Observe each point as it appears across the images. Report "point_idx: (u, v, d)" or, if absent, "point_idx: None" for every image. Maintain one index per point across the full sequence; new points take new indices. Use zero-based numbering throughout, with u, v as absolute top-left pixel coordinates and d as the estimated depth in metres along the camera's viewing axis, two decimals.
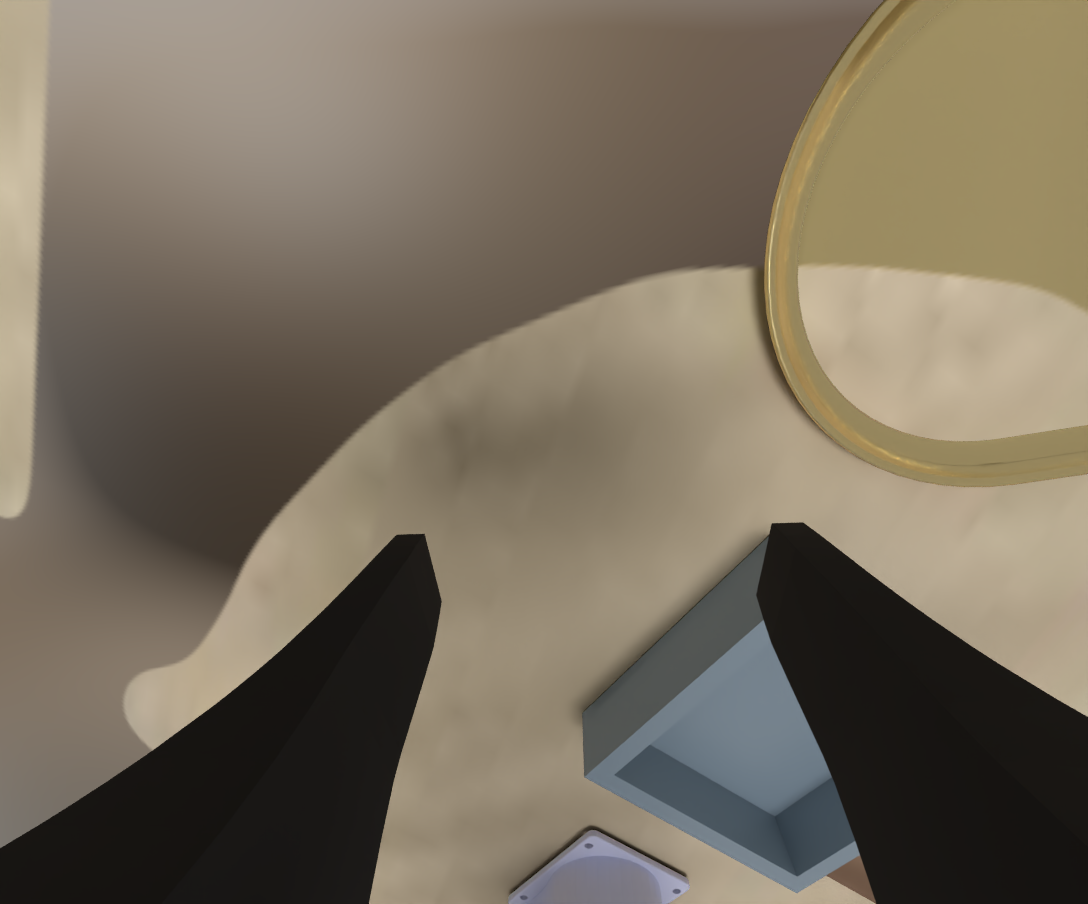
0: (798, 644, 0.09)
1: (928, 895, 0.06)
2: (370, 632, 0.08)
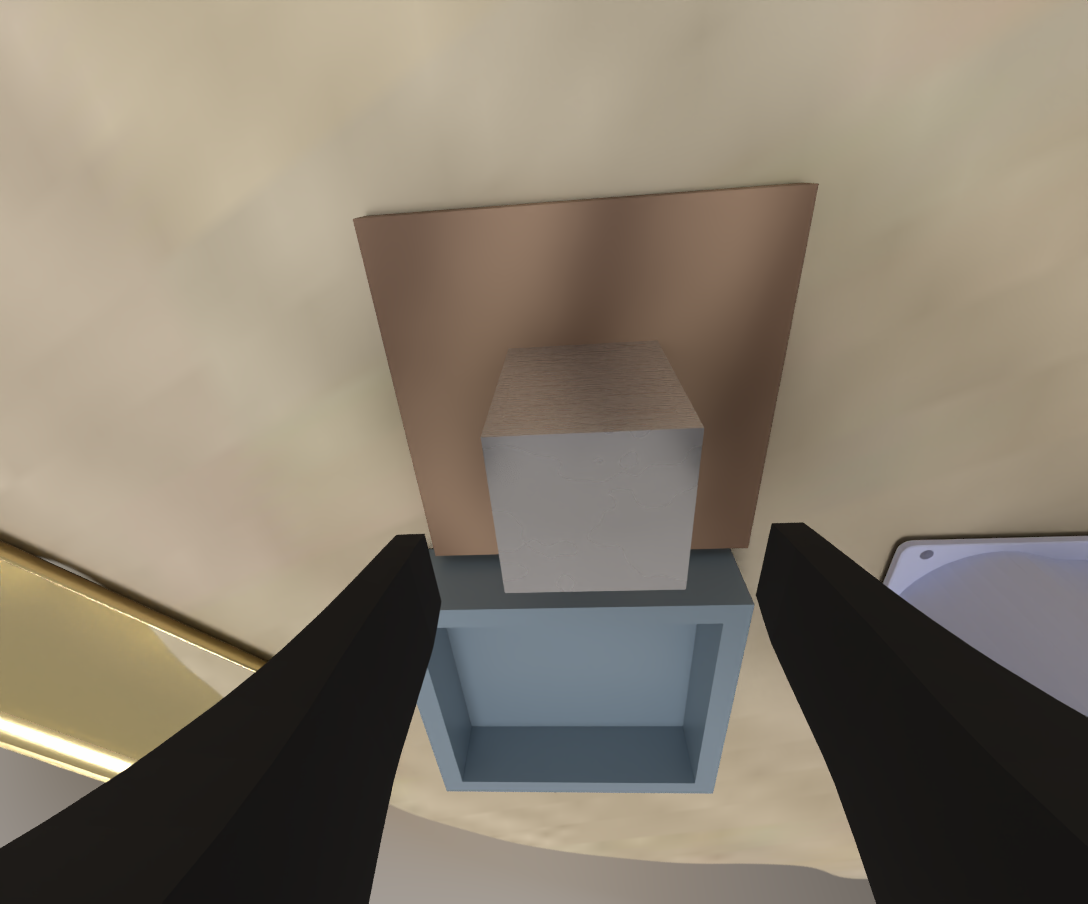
0: (798, 644, 0.09)
1: (928, 895, 0.06)
2: (370, 632, 0.08)
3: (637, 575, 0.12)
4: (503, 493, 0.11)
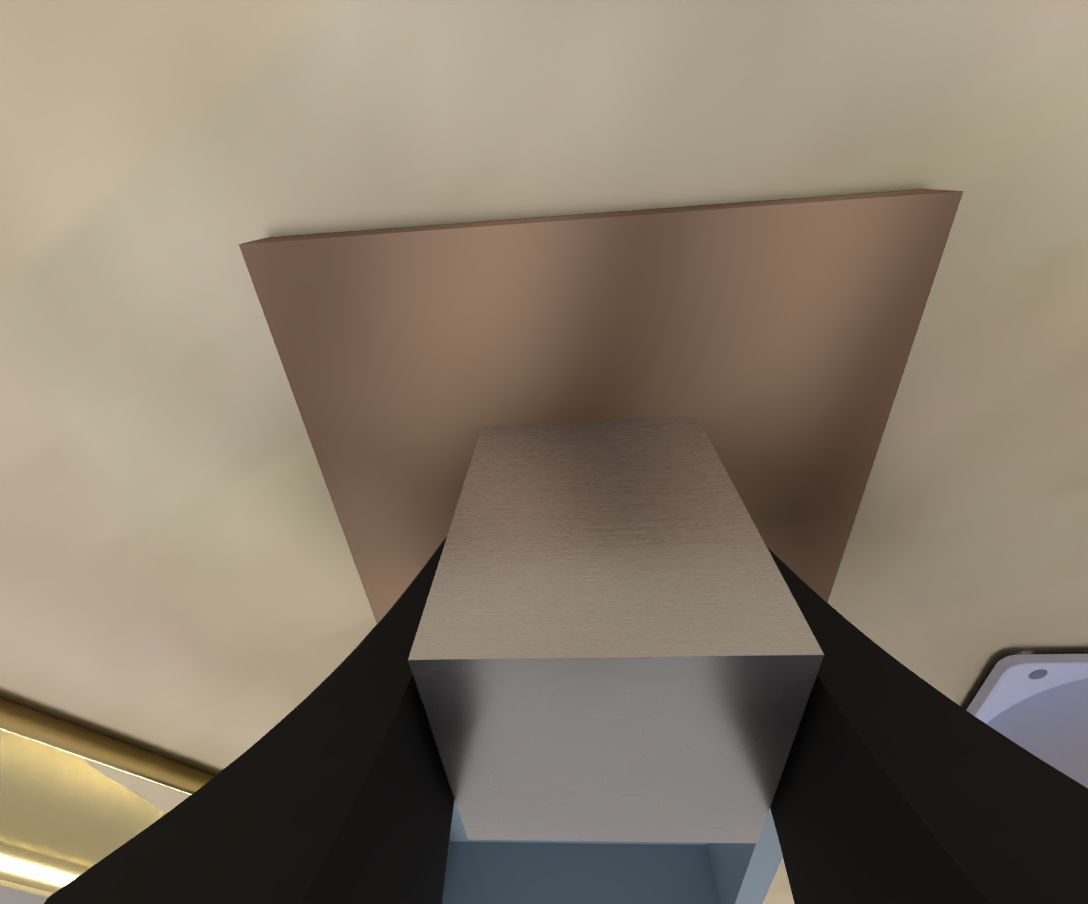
0: None
1: (830, 893, 0.06)
2: None
3: (679, 826, 0.08)
4: (456, 732, 0.06)
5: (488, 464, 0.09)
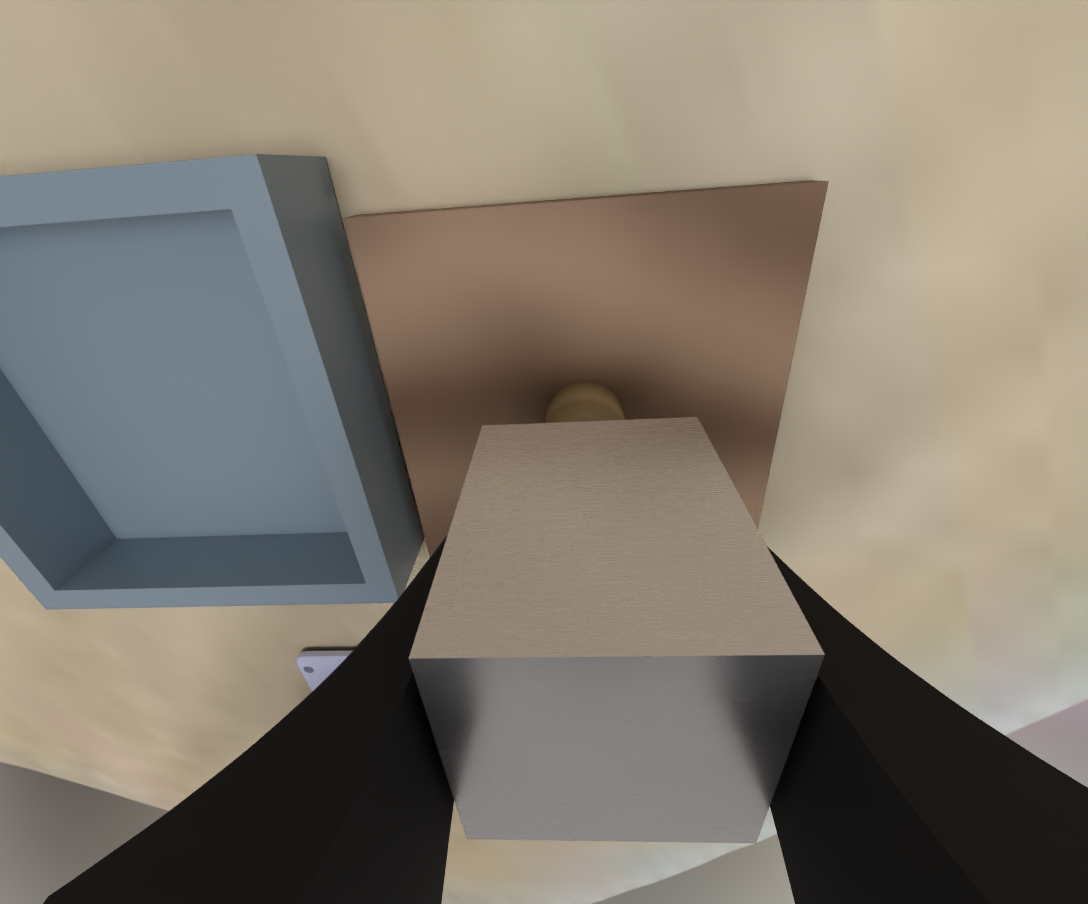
0: None
1: (830, 893, 0.06)
2: None
3: (679, 826, 0.08)
4: (457, 731, 0.06)
5: (488, 463, 0.09)
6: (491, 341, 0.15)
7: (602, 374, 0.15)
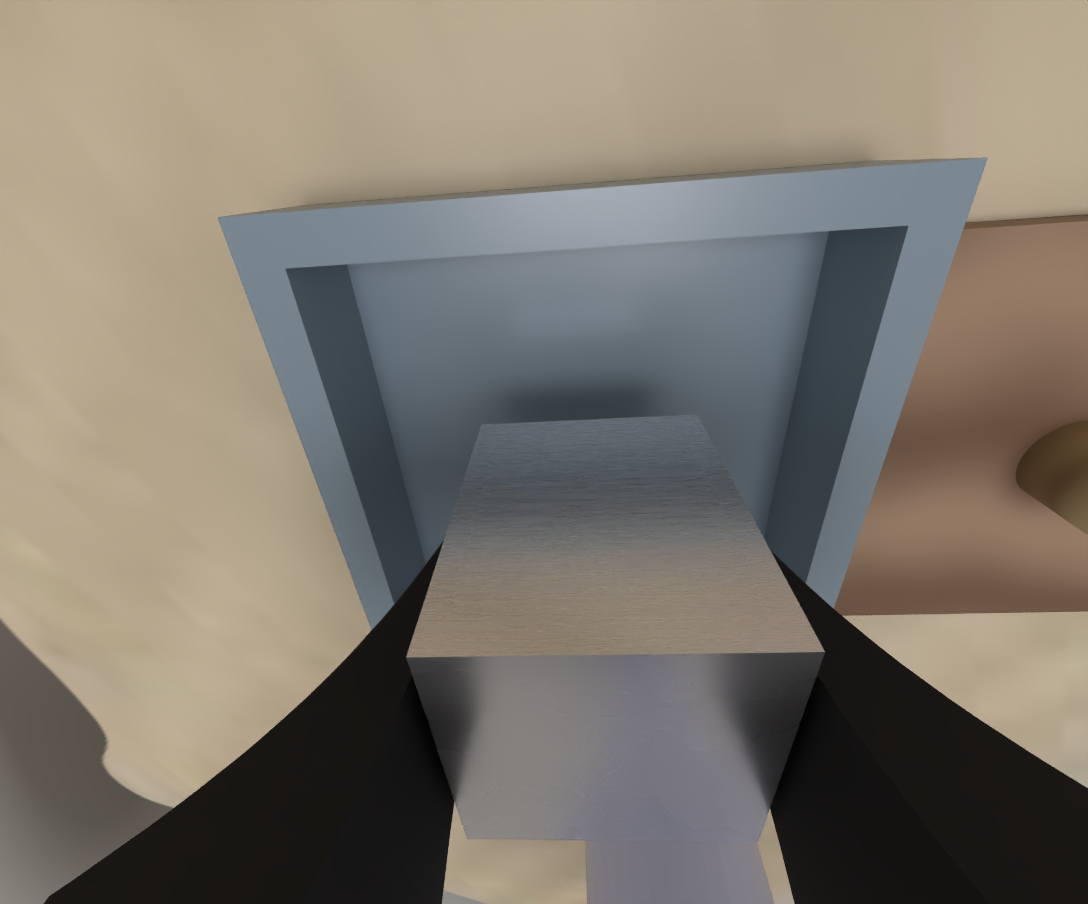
0: None
1: (830, 893, 0.06)
2: None
3: (679, 826, 0.08)
4: (455, 730, 0.06)
5: (487, 462, 0.09)
6: (1004, 375, 0.13)
7: None
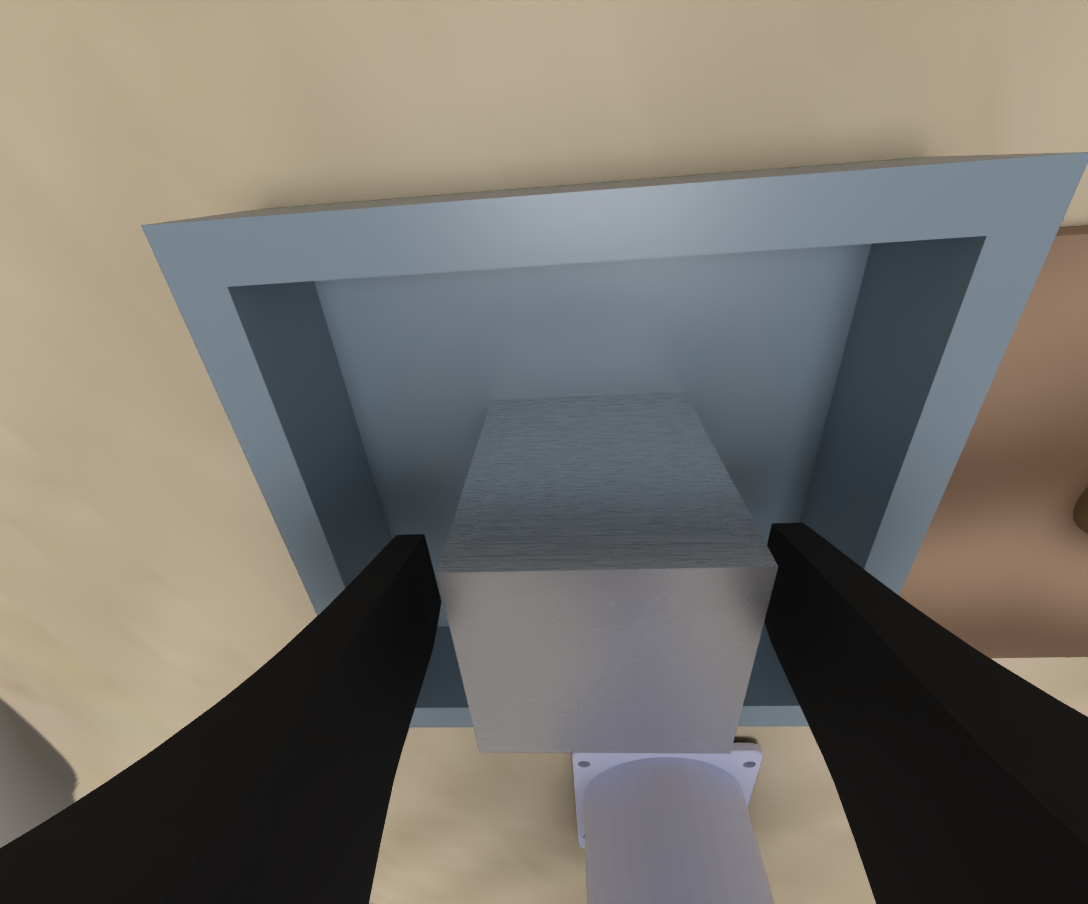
0: (798, 644, 0.09)
1: (928, 895, 0.06)
2: (370, 632, 0.08)
3: (663, 737, 0.09)
4: (474, 642, 0.08)
5: (498, 429, 0.11)
6: (1068, 404, 0.11)
7: None
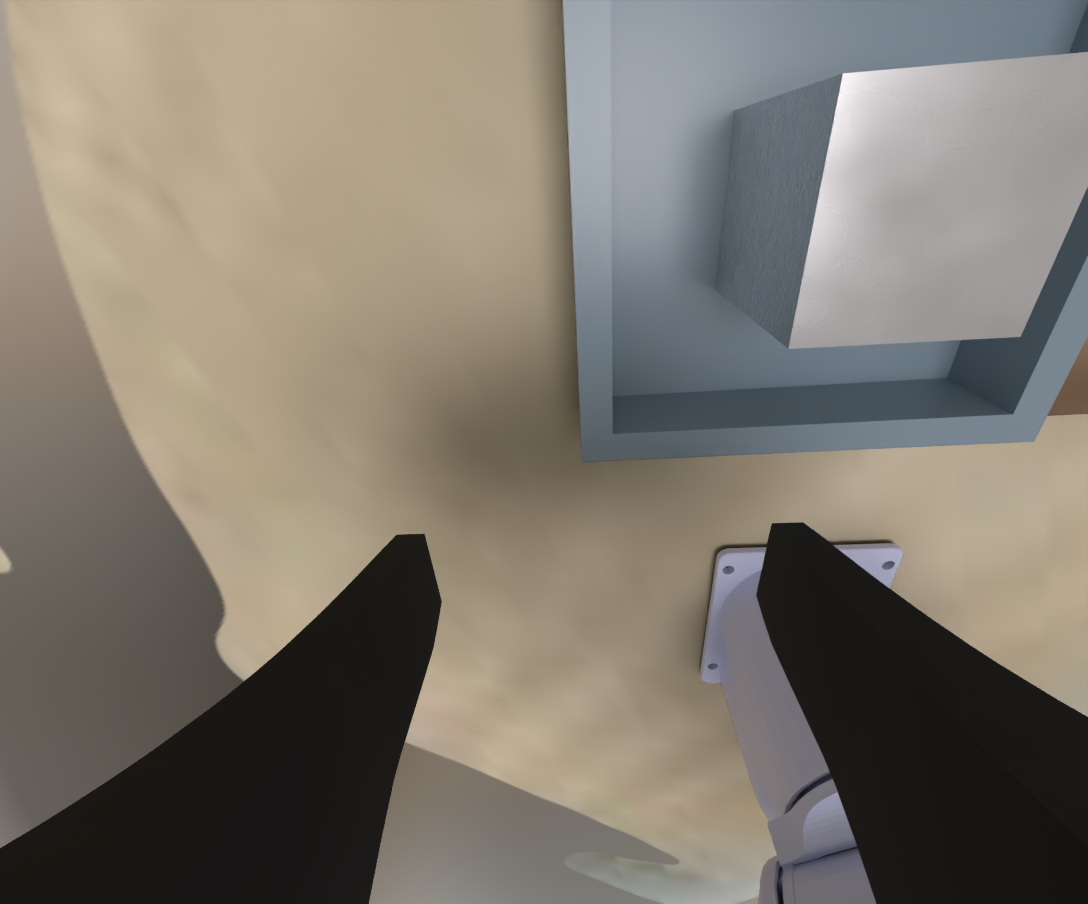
0: (798, 644, 0.09)
1: (928, 895, 0.06)
2: (370, 632, 0.08)
3: (966, 314, 0.10)
4: (841, 176, 0.09)
5: None
6: None
7: None
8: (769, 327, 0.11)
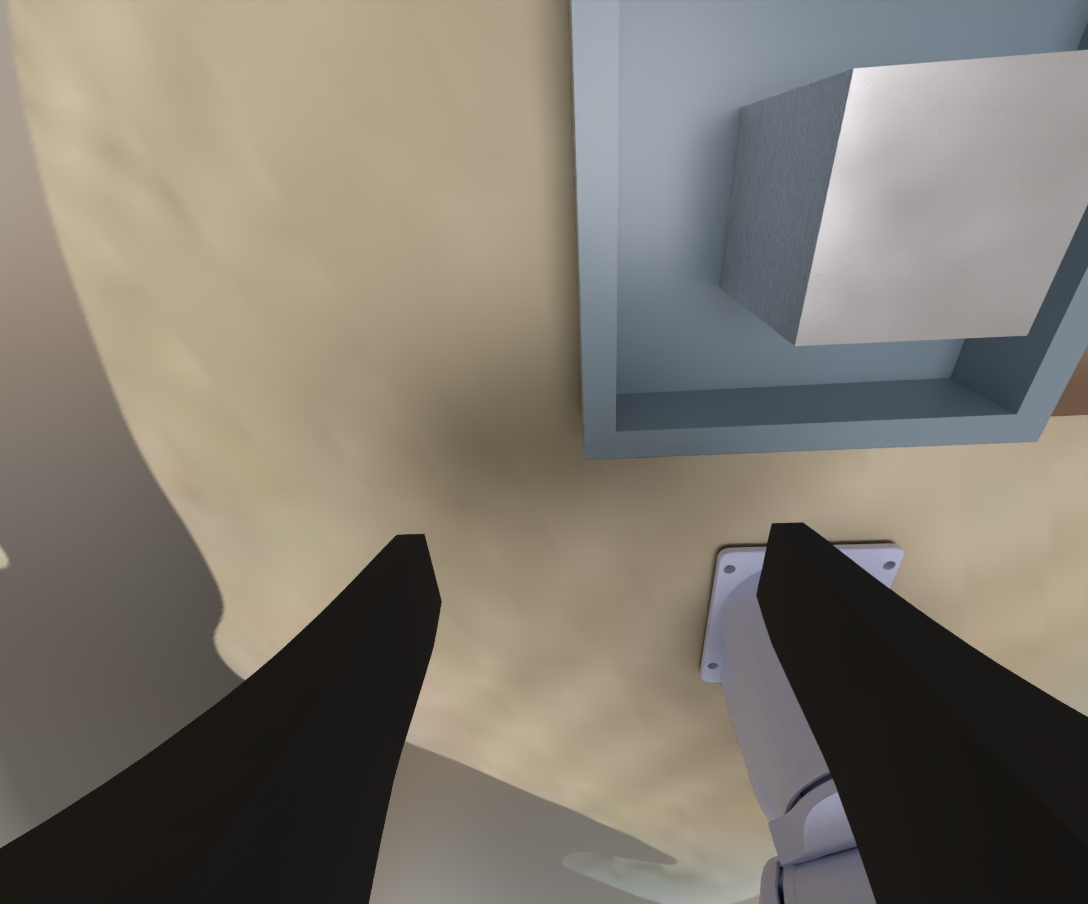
0: (798, 644, 0.09)
1: (928, 895, 0.06)
2: (370, 632, 0.08)
3: (973, 312, 0.10)
4: (850, 172, 0.09)
5: None
6: None
7: None
8: (775, 324, 0.11)
